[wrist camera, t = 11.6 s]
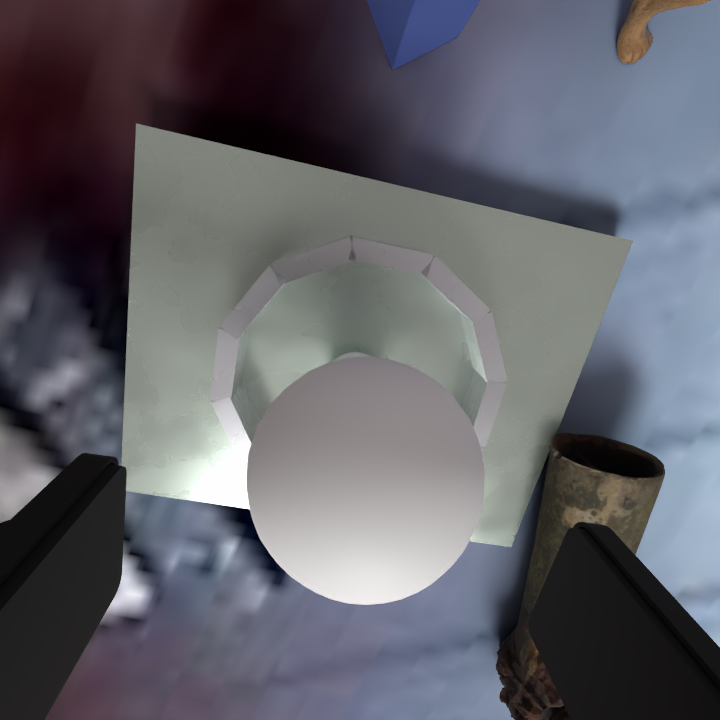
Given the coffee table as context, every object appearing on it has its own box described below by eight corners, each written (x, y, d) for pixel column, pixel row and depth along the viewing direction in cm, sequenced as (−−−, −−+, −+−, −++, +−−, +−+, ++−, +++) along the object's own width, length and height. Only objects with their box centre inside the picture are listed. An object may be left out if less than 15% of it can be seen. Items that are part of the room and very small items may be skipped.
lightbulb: (264, 404, 19) (172, 622, 8) (319, 281, 17) (290, 360, 7) (384, 453, 20) (435, 701, 9) (446, 341, 18) (588, 488, 8)
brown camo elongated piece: (535, 427, 22) (601, 494, 16) (657, 434, 22) (760, 501, 17) (476, 674, 27) (511, 785, 22) (576, 674, 28) (634, 783, 22)
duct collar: (132, 475, 21) (97, 518, 18) (150, 130, 16) (107, 109, 13) (502, 531, 23) (527, 577, 20) (615, 239, 19) (668, 243, 16)
